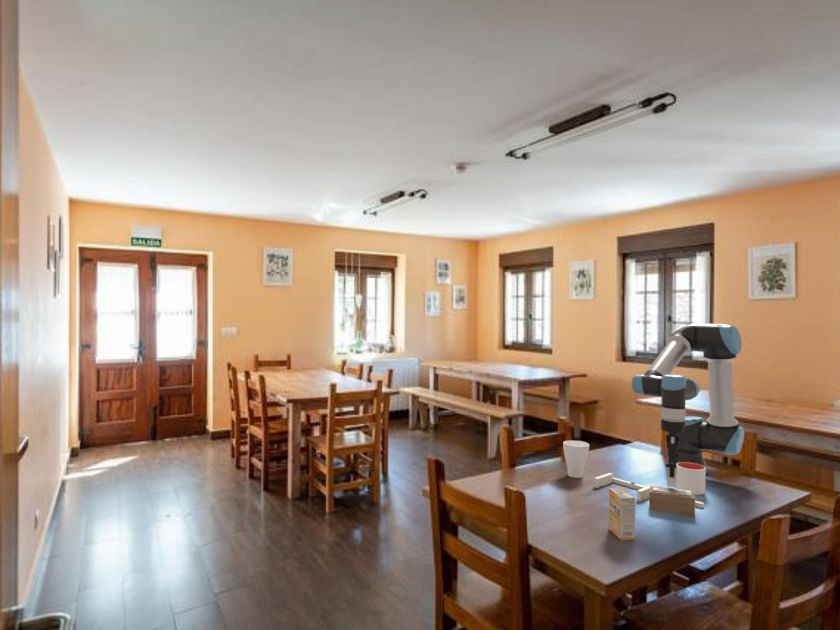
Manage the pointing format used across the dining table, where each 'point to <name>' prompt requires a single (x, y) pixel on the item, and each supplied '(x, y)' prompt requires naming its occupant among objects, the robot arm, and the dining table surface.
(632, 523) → the supplement box
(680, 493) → the wooden block
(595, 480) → the notch rail
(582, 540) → the dining table surface
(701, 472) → the cup
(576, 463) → the cup
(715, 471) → the dining table surface
